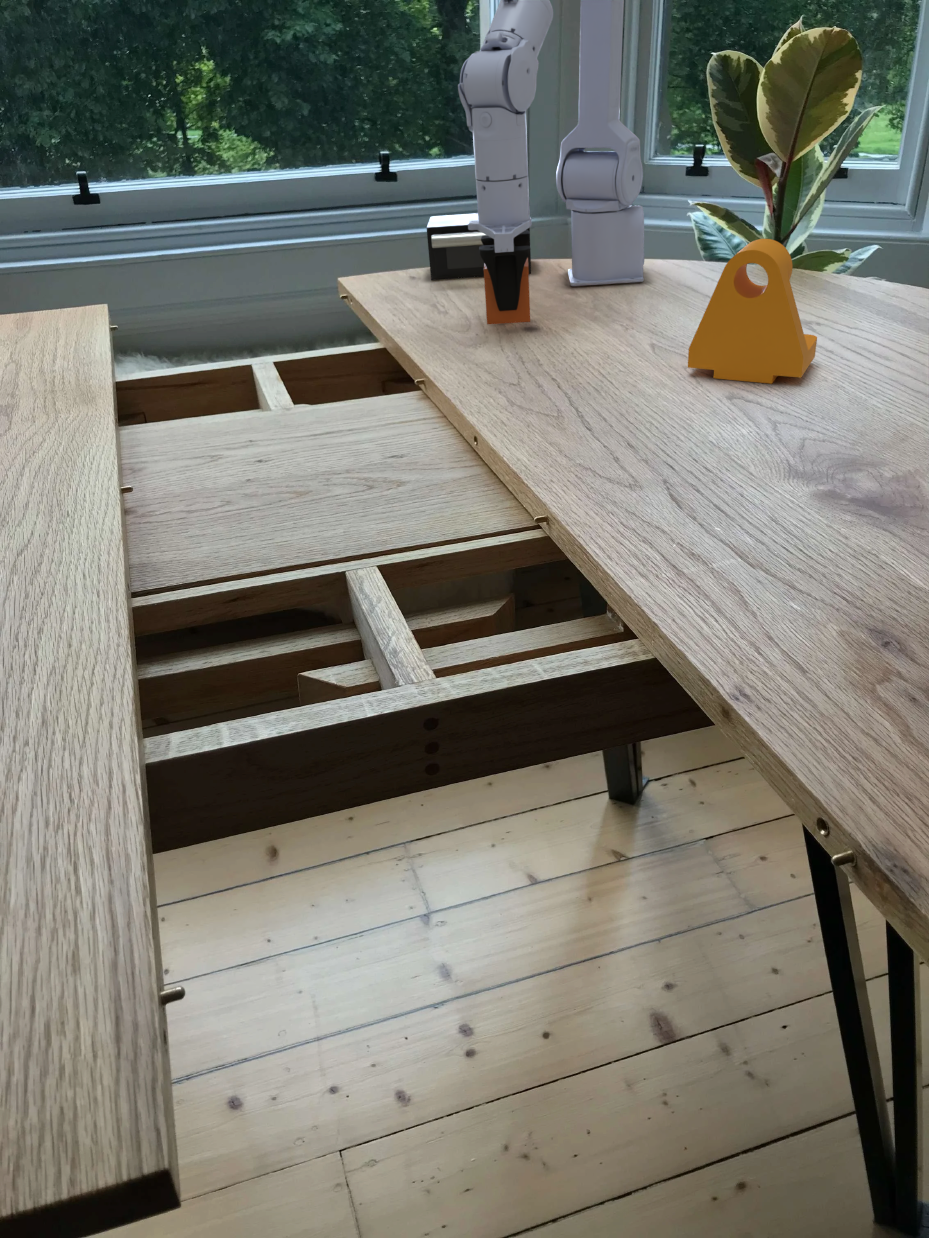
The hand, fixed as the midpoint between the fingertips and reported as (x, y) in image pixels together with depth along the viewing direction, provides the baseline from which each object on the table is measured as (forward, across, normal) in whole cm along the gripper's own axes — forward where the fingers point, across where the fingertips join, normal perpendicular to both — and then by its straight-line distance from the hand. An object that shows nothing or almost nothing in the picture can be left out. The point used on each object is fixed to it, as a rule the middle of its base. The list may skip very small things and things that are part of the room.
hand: (508, 304), depth 113 cm
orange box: (+2, 0, 0) cm, 2 cm away
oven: (+3, -26, -4) cm, 27 cm away
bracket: (+3, +20, +24) cm, 31 cm away
